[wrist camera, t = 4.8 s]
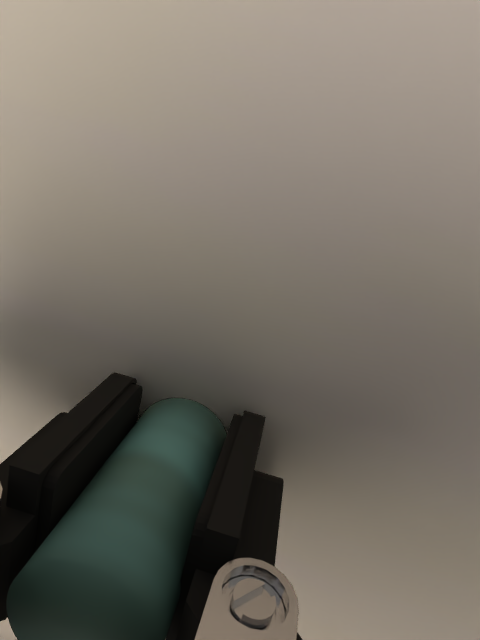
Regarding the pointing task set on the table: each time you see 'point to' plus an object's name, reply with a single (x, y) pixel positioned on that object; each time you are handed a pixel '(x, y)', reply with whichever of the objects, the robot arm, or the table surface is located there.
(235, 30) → the table surface
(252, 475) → the robot arm
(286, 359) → the table surface
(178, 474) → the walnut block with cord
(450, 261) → the table surface
